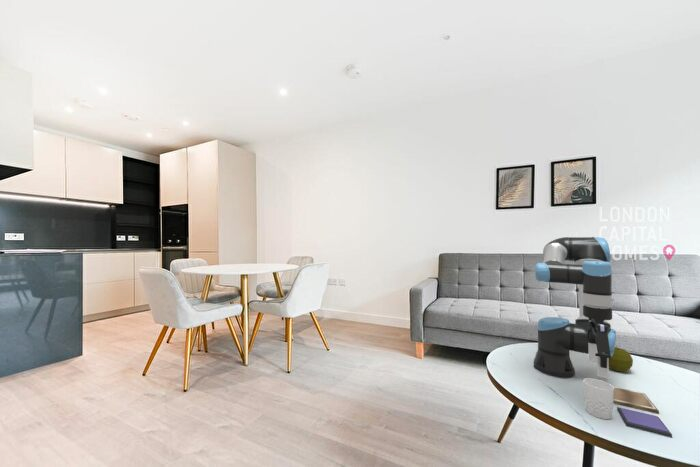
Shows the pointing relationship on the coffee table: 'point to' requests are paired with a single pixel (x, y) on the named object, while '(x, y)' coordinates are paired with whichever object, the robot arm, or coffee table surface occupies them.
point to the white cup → (598, 398)
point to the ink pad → (644, 422)
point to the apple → (620, 360)
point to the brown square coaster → (633, 400)
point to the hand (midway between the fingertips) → (598, 369)
